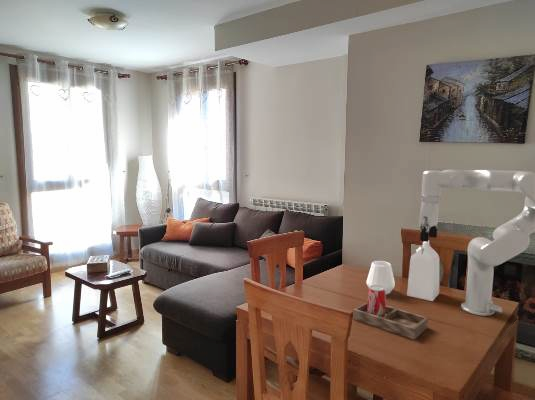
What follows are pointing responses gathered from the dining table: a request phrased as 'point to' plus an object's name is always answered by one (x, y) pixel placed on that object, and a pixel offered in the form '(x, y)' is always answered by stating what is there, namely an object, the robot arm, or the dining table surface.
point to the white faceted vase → (381, 276)
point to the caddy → (393, 321)
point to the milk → (424, 273)
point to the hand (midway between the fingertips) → (428, 239)
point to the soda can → (376, 301)
